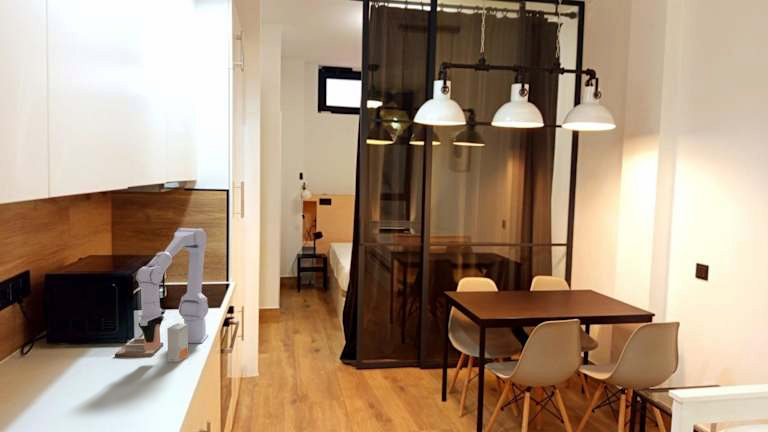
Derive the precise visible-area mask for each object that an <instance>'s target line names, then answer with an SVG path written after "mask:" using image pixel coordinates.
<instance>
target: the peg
mask: <svg viewBox="0 0 768 432" xmlns="http://www.w3.org/2000/svg"><path fill="white" fill-rule="evenodd" d="M160 329H161V325H160V324H157V325H156V328H155V332H154V340H153V342H146V340H145V337H144V336H143V338H144V350H157V349H158V348H159V347H160V343H161V331H160Z"/></svg>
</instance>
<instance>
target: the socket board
mask: <svg viewBox="0 0 768 432" xmlns="http://www.w3.org/2000/svg"><path fill="white" fill-rule="evenodd" d="M163 346H164V342H160V347H159V348H158V349H157V350H144V337H143V338H142V337H138V338H137V337H135V338H134V337H133V338H132V339H130V340H129V341H127V343H125V344H124V345H123V347H121V348H120V349H118V351H116V352H115V353H114V358H132V357H133V358H134V357H136V358H137V357H140V358H141V357H154V356H155V355H156V353H158V351H160V350H161V349H162V348H163Z"/></svg>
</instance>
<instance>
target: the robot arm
mask: <svg viewBox="0 0 768 432" xmlns="http://www.w3.org/2000/svg"><path fill="white" fill-rule="evenodd" d="M183 248H184V249H186V250H187V251H188V252H189V259H188V261H189V262H188V272H187V288H186V293H185V294H184V295H182V296H181V298H180V303H179V305H178V314H179V315H180V316H181V319H182V320H183V324H187V327H188V344H203V342H204V341H205V340H206V339H207V337H209V334H208V333H206V332H207V329H206V328H207V327H206V326H207V325H206V316H207V315H208V313H209V305H208V297H207V296H205V295H204V294H203V293H202V287H203V278H204V277H203V275H204V274H203V273H204V263H205V262H204V261H205V250H206V248H207V233H206V231H205V230H204V229H203V228H189V227H188V228H185V227H179V228H178V229H177V230H176V231H175V232H174V235H173V239H172V240H171V242H170V243H169V244H168V246H166V248H165V249H164V251H159V252H157V253H156V255H155V256H154V257H153V258H152V260H150V261H149V262H148V263H147V265H145V266H142V267H141V268H139V269H138V271H137V273H136V276H135V279H136V281H137V282H138V286H139V288H140V298H141V300H140V303H141V313H138V314H137V315H138V317H140V318H141V319H140V320H139V323H138V327H139V328H140V330H141V331H142V333H143V338H144V337H145V340H146V342H153V340H154V332H155V328H156V325H157V324H160V326H161V325H162V322H163V320H164V318H165V317H164V316H163V315H162V308H161V303H160V300H161V299H160V283H161V282H162V281H163V279H164V278H163V276H164V275H165V272H166V270H168V268H169V267H170V266H171V264H172V263H173V257H174V256H176V255H177V253H179V252H180V251H181V250H182V249H183Z"/></svg>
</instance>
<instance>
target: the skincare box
mask: <svg viewBox="0 0 768 432" xmlns="http://www.w3.org/2000/svg"><path fill="white" fill-rule="evenodd" d="M166 331H167V362H169V363H180V362H181V361H183V360H185V359H186V358H188V357H189V343H188V327H187V324H184V323H179V322H178V323H175V324H173V325H171V326H169V327H168V328H167V330H166Z"/></svg>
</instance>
